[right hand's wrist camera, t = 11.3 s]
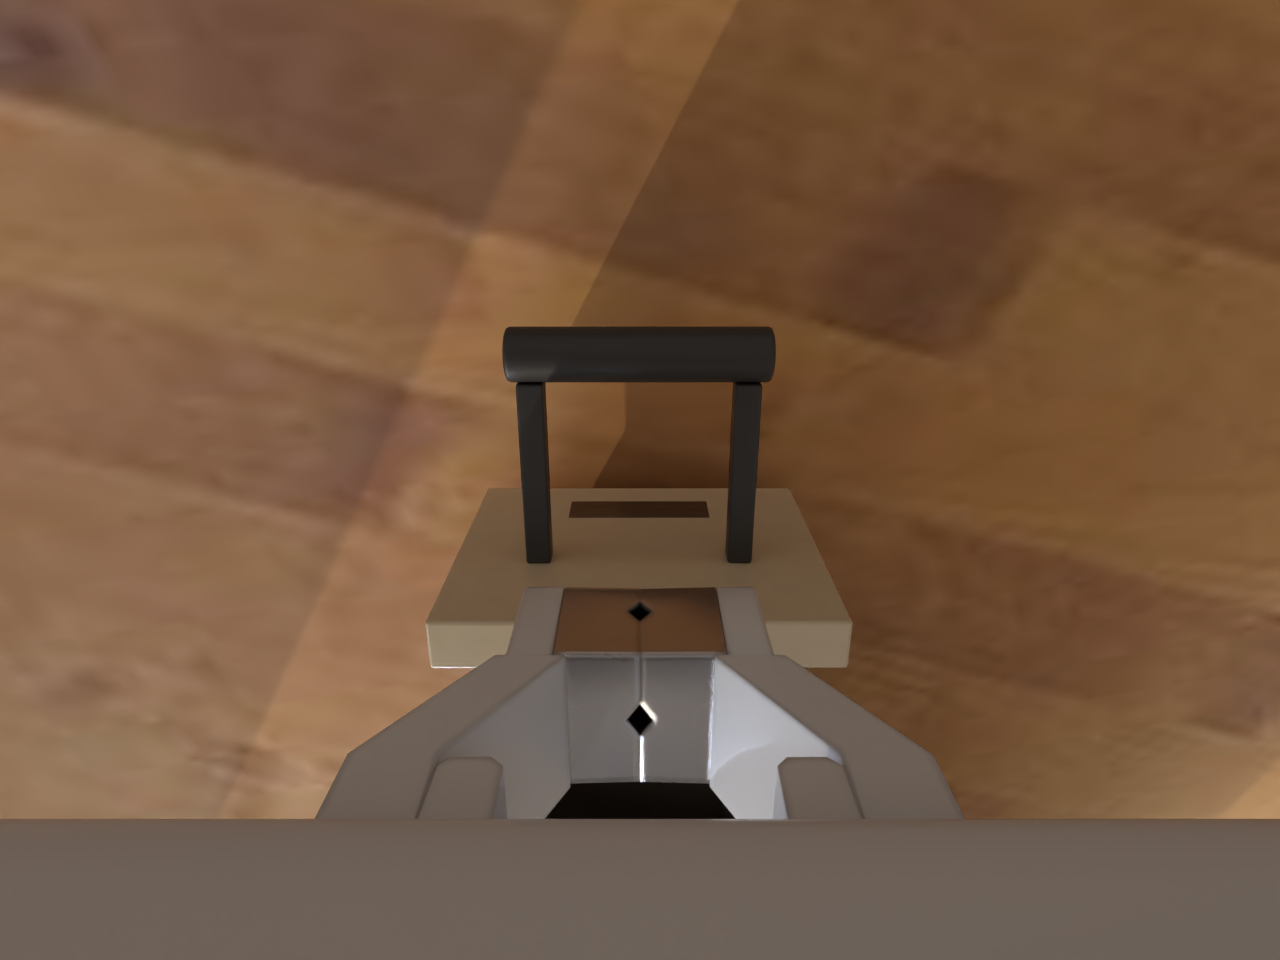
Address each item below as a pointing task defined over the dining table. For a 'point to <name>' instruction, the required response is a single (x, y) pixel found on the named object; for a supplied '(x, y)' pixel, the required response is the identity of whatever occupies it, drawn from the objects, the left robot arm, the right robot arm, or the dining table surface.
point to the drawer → (638, 529)
